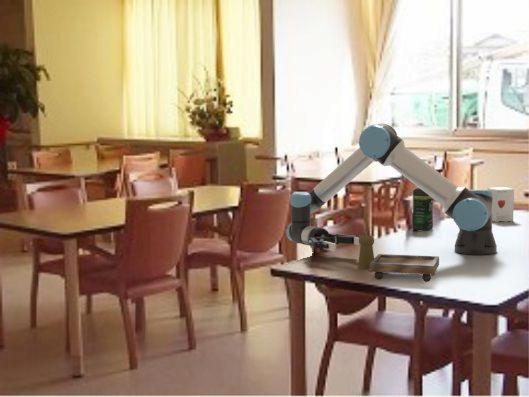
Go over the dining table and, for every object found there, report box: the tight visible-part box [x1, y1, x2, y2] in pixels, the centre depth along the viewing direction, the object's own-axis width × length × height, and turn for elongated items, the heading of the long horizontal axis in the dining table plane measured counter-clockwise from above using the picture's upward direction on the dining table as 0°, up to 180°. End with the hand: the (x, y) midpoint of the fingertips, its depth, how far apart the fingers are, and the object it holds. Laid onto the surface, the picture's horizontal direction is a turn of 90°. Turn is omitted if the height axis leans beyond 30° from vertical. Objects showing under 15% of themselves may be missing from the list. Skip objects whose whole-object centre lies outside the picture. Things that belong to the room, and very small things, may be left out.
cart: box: [369, 253, 440, 283], centre depth 265 cm, size 20×15×6 cm
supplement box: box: [486, 186, 515, 223], centre depth 374 cm, size 9×9×15 cm
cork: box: [357, 235, 375, 270], centre depth 281 cm, size 6×6×11 cm
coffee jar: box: [411, 187, 434, 231], centre depth 354 cm, size 10×8×19 cm
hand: (351, 245), depth 288 cm, fingers open, 13 cm apart
